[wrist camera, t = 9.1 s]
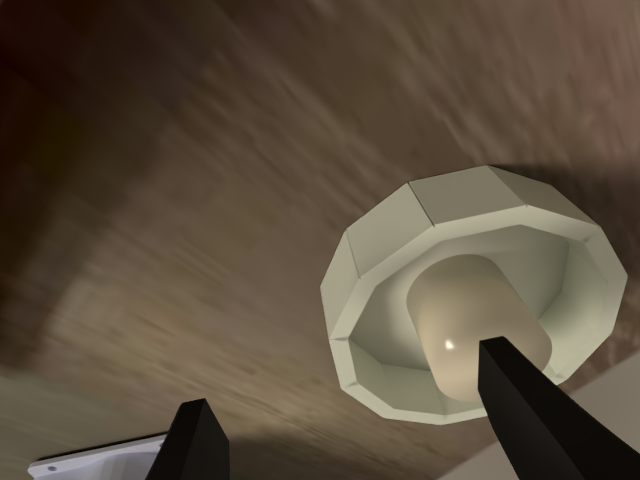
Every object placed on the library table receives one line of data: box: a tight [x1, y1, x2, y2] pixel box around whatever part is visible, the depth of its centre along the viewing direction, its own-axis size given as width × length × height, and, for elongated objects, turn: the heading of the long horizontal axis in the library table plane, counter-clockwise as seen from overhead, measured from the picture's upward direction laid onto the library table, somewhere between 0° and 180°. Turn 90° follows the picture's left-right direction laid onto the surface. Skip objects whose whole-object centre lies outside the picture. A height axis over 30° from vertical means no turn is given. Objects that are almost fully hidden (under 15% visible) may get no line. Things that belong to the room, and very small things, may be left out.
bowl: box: [320, 165, 628, 425], centre depth 21 cm, size 13×13×4 cm
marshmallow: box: [406, 254, 552, 402], centre depth 20 cm, size 5×5×4 cm
